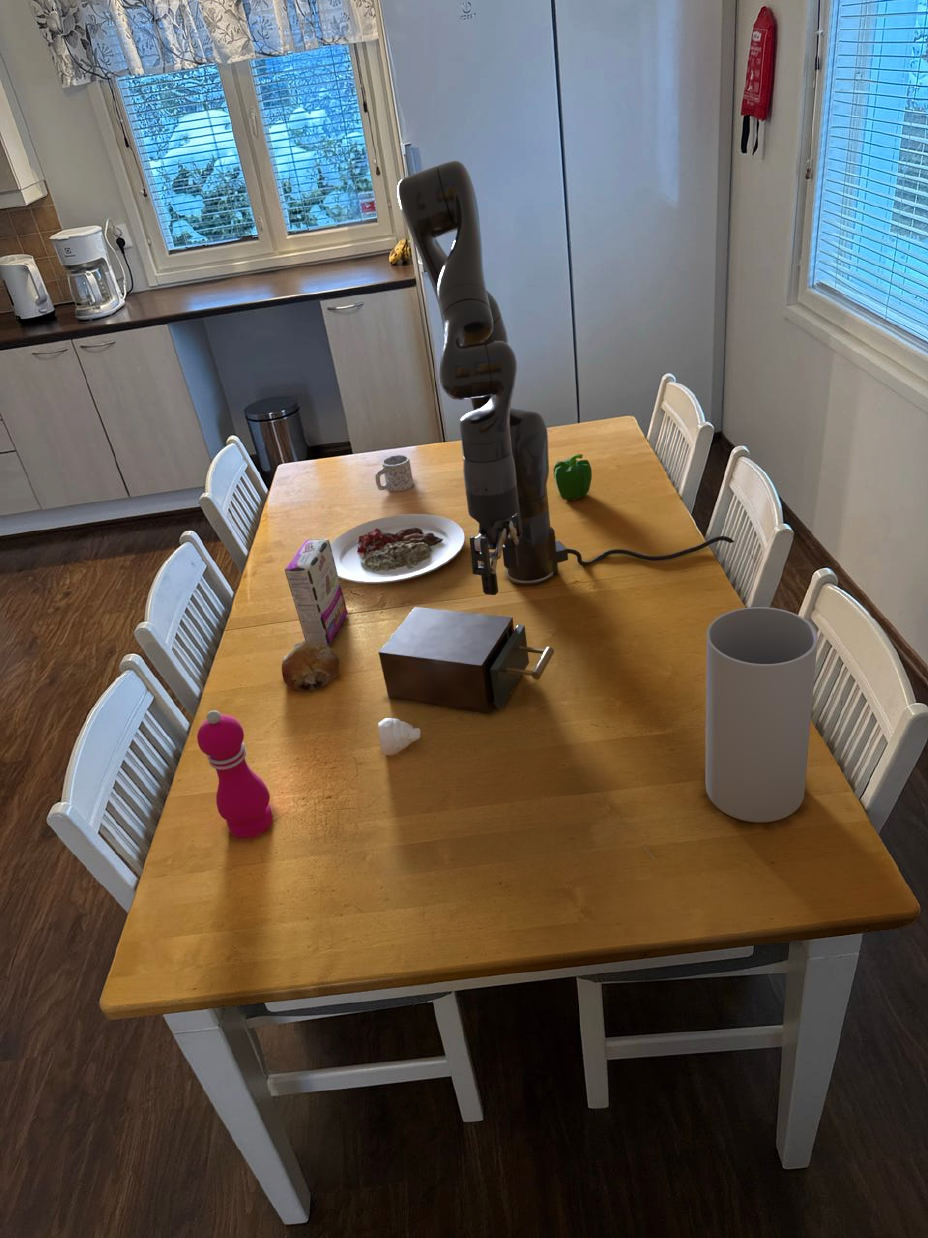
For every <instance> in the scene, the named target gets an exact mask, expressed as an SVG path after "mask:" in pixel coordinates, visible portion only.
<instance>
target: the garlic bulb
mask: <svg viewBox="0 0 928 1238" xmlns="http://www.w3.org/2000/svg"><path fill="white" fill-rule="evenodd" d="M421 731H422V730H421V729H420V728H419V727H415V728H414V726H412V725H411V724H409V723H408V722H405V721H401V720H400V719H398V718H396V717H393V718H392V717H385V718H384V719H382V720H380V721H379V722H378V736H379V742H380V748H381V752H382V753H383V754H384V755H385V756H392V755H397V754H398V753H400V752H401V751H403V749H406V748H407V747H408V746H410V744H412V743H414V742H415V741H417V740H418V741H419V739H420V738H421V733H422V732H421Z"/></svg>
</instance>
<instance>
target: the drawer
mask: <svg viewBox="0 0 928 1238" xmlns="http://www.w3.org/2000/svg"><path fill="white" fill-rule="evenodd" d="M526 633H527V632H526V625H522V624H517V625H516V627H515V628H514V632H513V634H512V635H511V637H510V638H509V631H507V632H506V634H505V635H504V637H503V638H502V640H501V642H500V643H499V645H498V646H497V648H496V649H495V651H494V653H493V654H492V656H491V657H490V659H489V660H488V662H487V664H486V665H485V667H484V669H485V675H486V682H487V689H488V695H489V700H490V698H491V697H492V695H493V693H494V700H495V704H494V706H495V708H496V709H504V707H505V706H506V703H507V702H508V700H509V698H510V697H511V695H512V693H513V692H514V690H515V688H516V686H517V684H518V682H519V681H520V679H521V677H522V676H528V677H532V678H533V679H534V680H540V679H541V677H542V675H543V673H544V671H545V670H546V668H547V666H548V664H549V663H550V661H551V659H552V657H553V655H554V653H555V649H554V648H553V647H551V646H547V647H546V648H541V647H540V648H538V647H530V646H528V643H527V634H526ZM529 653H533V654H540V655H541V657H539V658H540V659H539V660H538V662H537V663H536V665H535V667H534V669H533V670H528V669H527V667H528V666H529V663H530V658H529Z"/></svg>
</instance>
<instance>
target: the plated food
mask: <svg viewBox="0 0 928 1238" xmlns="http://www.w3.org/2000/svg"><path fill="white" fill-rule="evenodd" d="M465 540H466V535H465V532H464V529H463V528H462V527H461V526H460V525H459V524H458V523H457V522H455V521H453V520H451V519H449V518H446V517H444V516H440V515H435V514H427V513H406V514H396V515H395V514H394V515H390V516H389V515H388V516H385V517H380V518H377V519H373V520H370V521H367V522H364V523H361V524H359V525H356V526H354V527H352V528H350V529H348V530H346V531H345V532H343V533H342V534H340V535H338V537H336V538H335V539H334V540H333V541H332V542H331V543H330V546H331V550H332V554H333V558H334V562H335V566H336V569H337V574H338V578H339V579H341V580H345V581H349V582H353V583H360V584H387V583H396V582H400V581H401V582H402V581H406V580H411V579H414V578H417V577H421V576H424V575H426V574H428V573H431V572H433V571H436V570H438V569H440V568H441V567H443V566H444V565H447V564H448V563H449V562H450V561H452V560H453V559H454V558H456V557H457V555H458V554H459V553H460V552H461V551H462V549H463V547H464V545H465Z"/></svg>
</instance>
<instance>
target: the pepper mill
mask: <svg viewBox="0 0 928 1238" xmlns="http://www.w3.org/2000/svg"><path fill="white" fill-rule="evenodd" d="M244 739H245V733H244V729H243V726H242V724H241V722H240V721H239V720H237V718H235V717H233V716H231V715H229V714H221V713H220V712H219V711H218V710H215V709H213V710H210V711H209V712H207V714H206V720H205V721H203V722H202V723H201V725H200V726H199V728H198V731H197V735H196V740H197V741H196V743H197V744H198V747H199V749H200V751H201V752H202V753H203V754H205V755H206V758H207V760H208V763H209V765H210V767H211V768H213V769H215V771H216V774H217V777H218V786H217V790H216V795H215V796H216V797H215V799H216V801H215V803H216V808H217V811H218V814H219V815H220V817H221V818H222V819H223V820H225V821H226V824H227V827H228V831H229V833H230V834H231V835H232V836H234V837H235V838H238V839H243V840H245V839H251V838H255V837H257V836H260V835H262V834H263V833H265V832H266V831H267V830H268V829H269V827H270V826H271V825H272V823H273V820H274V814H273V810H272V808H271V805H270V804H269V803H270V800H271V799H270V798H271V796H270V791H269V788H268V786H267V784H266V783H265V782H264V781H263V779H262V778H261V777H260V776H259V775H258V774H257V773H255V771H253V770H252V769H251V768H250V766H249V765H248V763H247V761H246V756H247V749H246V747H245V743H244Z"/></svg>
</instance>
